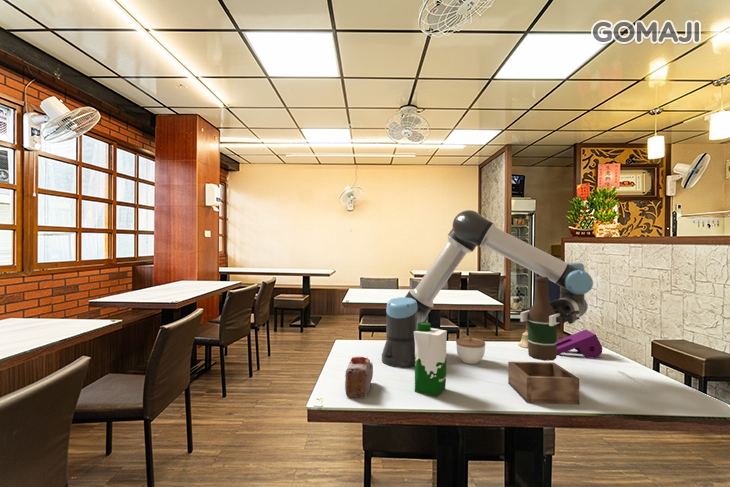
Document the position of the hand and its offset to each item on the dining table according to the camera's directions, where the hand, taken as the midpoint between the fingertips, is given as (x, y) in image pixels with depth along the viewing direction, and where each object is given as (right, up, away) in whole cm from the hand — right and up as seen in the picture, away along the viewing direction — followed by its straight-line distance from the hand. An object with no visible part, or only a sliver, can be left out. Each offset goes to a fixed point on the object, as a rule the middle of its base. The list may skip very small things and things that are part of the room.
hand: (535, 319), depth 104 cm
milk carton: (-30, -23, +4) cm, 38 cm away
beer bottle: (+4, -12, +3) cm, 13 cm away
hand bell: (+23, -24, +56) cm, 66 cm away
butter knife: (+39, -24, +10) cm, 47 cm away
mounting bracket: (+36, -24, +45) cm, 63 cm away
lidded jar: (-9, -23, +33) cm, 42 cm away
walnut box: (+3, -23, +3) cm, 23 cm away
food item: (-51, -23, +5) cm, 56 cm away
